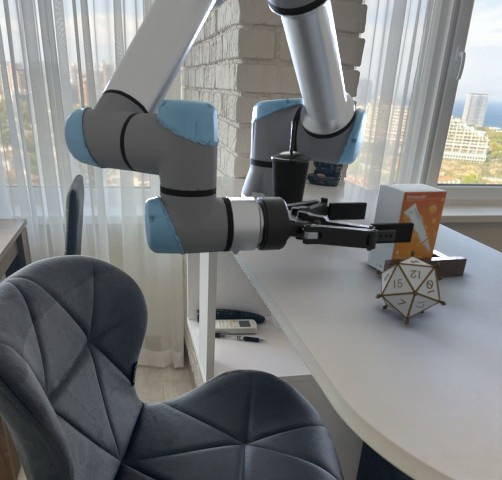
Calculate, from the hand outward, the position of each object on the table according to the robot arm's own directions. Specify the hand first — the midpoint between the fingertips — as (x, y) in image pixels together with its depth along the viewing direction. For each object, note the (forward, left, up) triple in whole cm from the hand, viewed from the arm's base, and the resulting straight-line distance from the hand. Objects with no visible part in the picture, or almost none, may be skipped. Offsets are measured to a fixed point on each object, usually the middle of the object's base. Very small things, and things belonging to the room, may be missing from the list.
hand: (386, 220), depth 78 cm
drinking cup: (-26, -6, -8) cm, 28 cm away
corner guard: (-4, +6, -8) cm, 10 cm away
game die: (+18, -6, -8) cm, 20 cm away
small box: (0, +4, -8) cm, 9 cm away
